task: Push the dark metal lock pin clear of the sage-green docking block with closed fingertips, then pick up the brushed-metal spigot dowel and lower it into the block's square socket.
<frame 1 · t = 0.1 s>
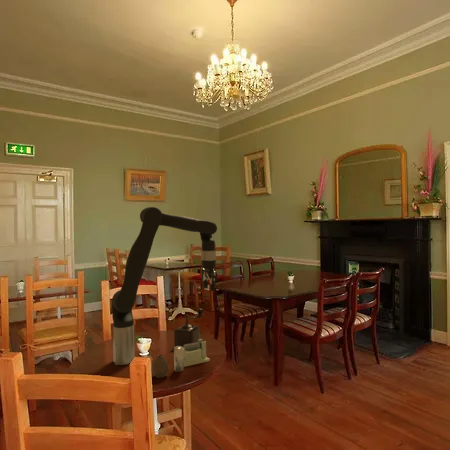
hand: (209, 289, 190), 29 cm above the table, fingers open, 8 cm apart
vase: (160, 376, 153), on the table
dock: (191, 360, 169), on the table
pin: (194, 345, 170), point 7 cm above the table, slide at 0.0 cm
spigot: (178, 369, 159), on the table
pepper mill: (190, 344, 192), on the table
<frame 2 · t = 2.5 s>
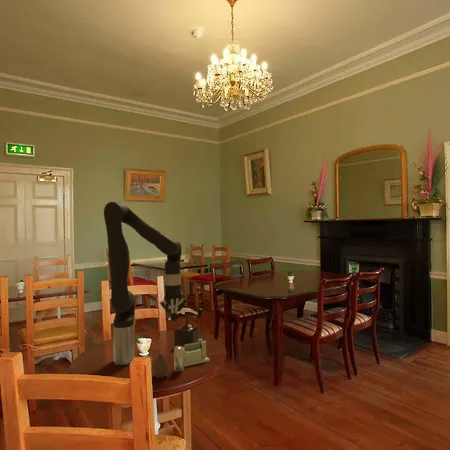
hand: (173, 320, 165), 20 cm above the table, fingers closed
nothing on the table moved.
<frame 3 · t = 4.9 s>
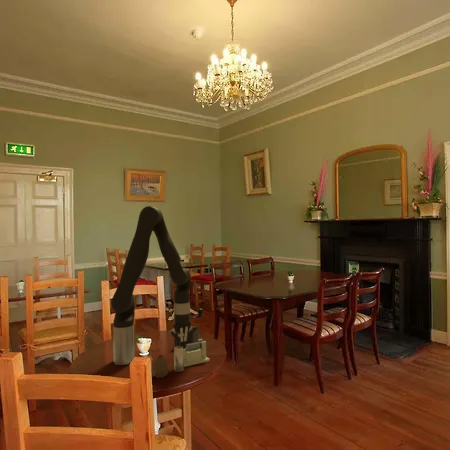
hand: (182, 348, 167), 6 cm above the table, fingers closed
pin: (195, 345, 170), point 7 cm above the table, slide at 0.7 cm, touching gripper
everything else where it was.
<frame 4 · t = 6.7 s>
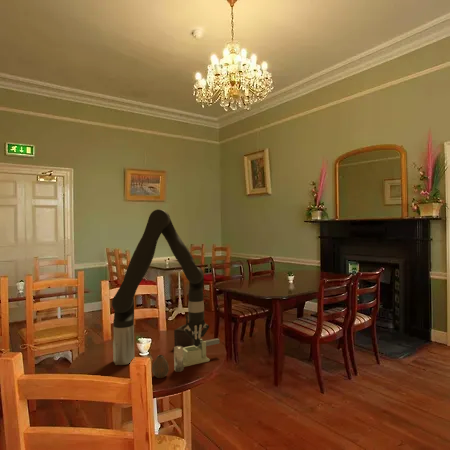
hand: (196, 346, 171), 6 cm above the table, fingers closed
pin: (209, 342, 174), point 7 cm above the table, slide at 7.9 cm, touching gripper
everything else where it was.
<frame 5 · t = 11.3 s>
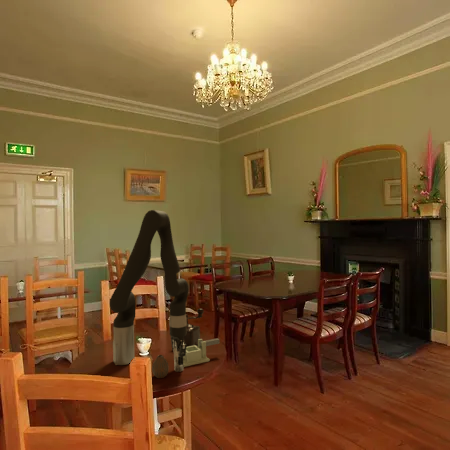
hand: (178, 362, 159), 3 cm above the table, fingers closed on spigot, 4 cm apart
pin: (209, 342, 174), point 7 cm above the table, slide at 7.9 cm
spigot: (178, 369, 159), on the table, touching gripper
everything else where it was.
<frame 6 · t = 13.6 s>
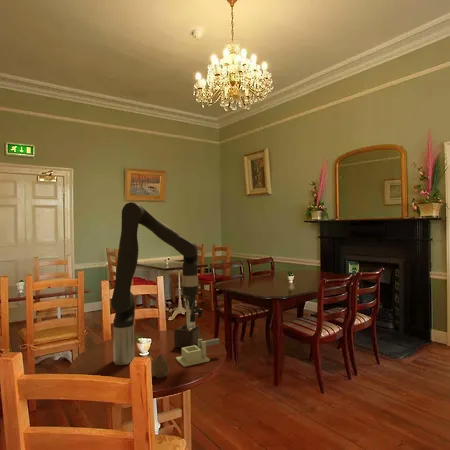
hand: (190, 320, 169), 19 cm above the table, fingers closed on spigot, 4 cm apart
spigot: (191, 327, 169), point 16 cm above the table, touching gripper
everything else where it was.
when the fingers open (7 cm above the table, at t = 16.2 s): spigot drops 2 cm, resting on dock.
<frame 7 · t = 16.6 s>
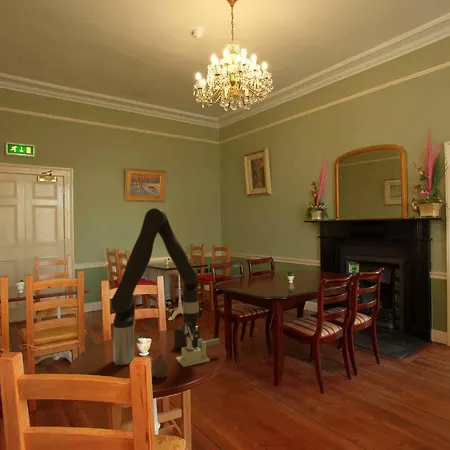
hand: (191, 345, 169), 7 cm above the table, fingers open, 8 cm apart
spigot: (191, 358, 169), point 1 cm above the table, touching dock
everything else where it was.
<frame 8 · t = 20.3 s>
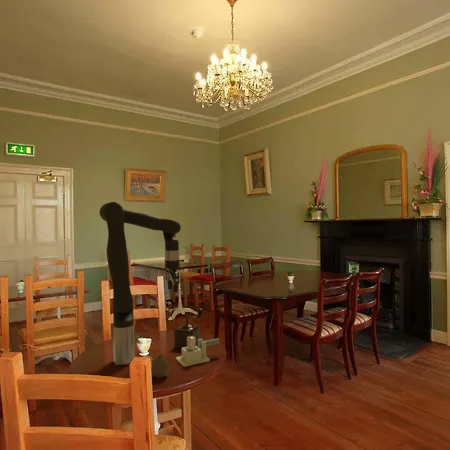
hand: (172, 290, 185), 30 cm above the table, fingers open, 8 cm apart
nothing on the table moved.
at the end: pin slide at 7.9 cm; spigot 0.0 cm off-centre on the dock, point 1.0 cm above the dock's base; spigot tilted 1° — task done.
